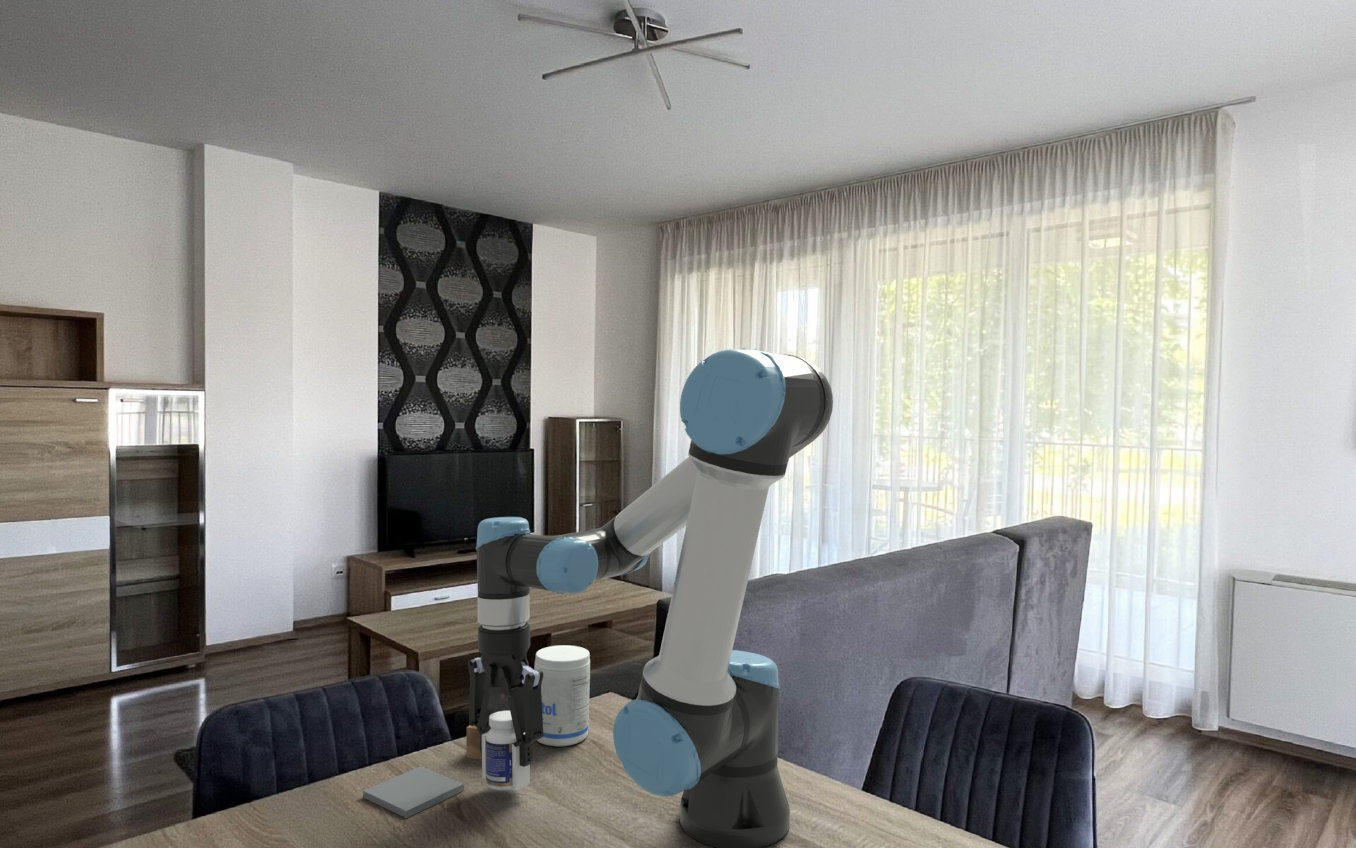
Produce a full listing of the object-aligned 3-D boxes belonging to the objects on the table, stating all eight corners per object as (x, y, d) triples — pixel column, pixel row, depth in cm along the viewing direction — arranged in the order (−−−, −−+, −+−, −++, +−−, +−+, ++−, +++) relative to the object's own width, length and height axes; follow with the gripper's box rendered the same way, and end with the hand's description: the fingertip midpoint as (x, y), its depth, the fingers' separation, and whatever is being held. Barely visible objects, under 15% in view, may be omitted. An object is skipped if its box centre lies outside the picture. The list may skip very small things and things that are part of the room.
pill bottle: (516, 793, 115) (515, 723, 115) (479, 790, 116) (478, 721, 116) (531, 776, 120) (530, 709, 120) (495, 773, 121) (495, 707, 122)
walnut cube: (509, 750, 133) (509, 720, 133) (492, 762, 129) (493, 731, 129) (483, 746, 135) (484, 716, 135) (466, 757, 130) (466, 727, 130)
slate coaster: (463, 790, 119) (463, 784, 119) (406, 818, 111) (406, 811, 111) (420, 772, 125) (420, 766, 125) (363, 797, 116) (363, 790, 116)
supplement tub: (521, 741, 137) (522, 655, 137) (554, 722, 145) (555, 641, 145) (568, 753, 133) (569, 664, 132) (599, 733, 141) (600, 649, 141)
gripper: (568, 626, 116) (570, 787, 116) (480, 610, 127) (482, 758, 127) (531, 638, 110) (533, 808, 110) (441, 620, 120) (443, 775, 120)
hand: (506, 781), depth 118 cm, fingers closed on pill bottle, 6 cm apart
